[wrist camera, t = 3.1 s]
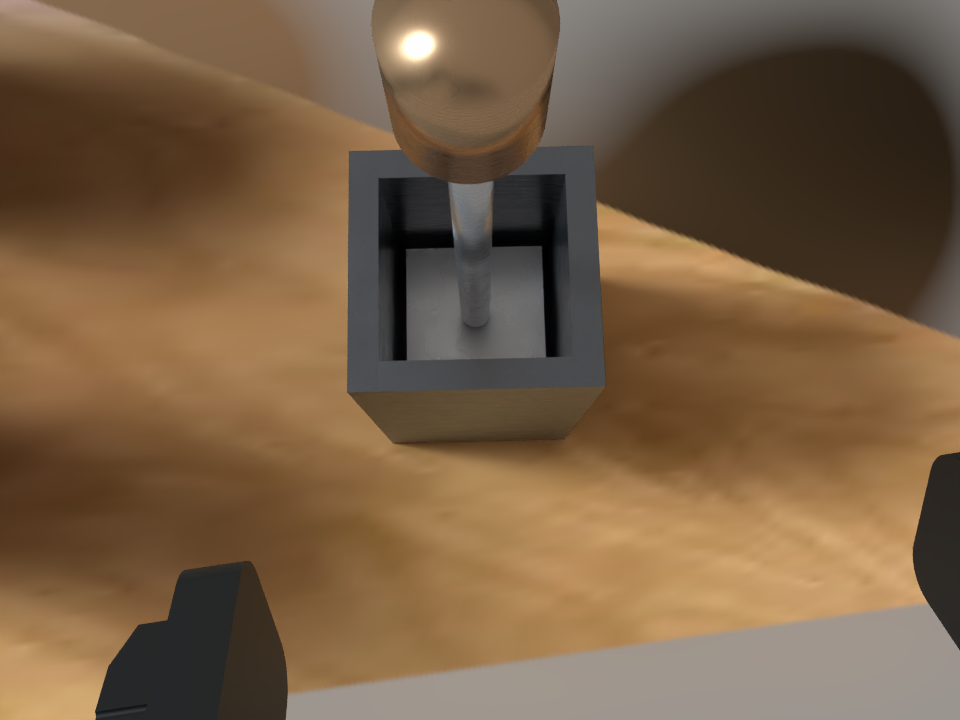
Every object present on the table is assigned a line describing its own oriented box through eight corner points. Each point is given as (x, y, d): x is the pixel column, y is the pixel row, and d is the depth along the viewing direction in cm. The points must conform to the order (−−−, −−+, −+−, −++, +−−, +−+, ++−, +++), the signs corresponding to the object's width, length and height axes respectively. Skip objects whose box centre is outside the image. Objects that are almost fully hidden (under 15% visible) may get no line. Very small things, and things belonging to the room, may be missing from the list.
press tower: (393, 443, 52) (347, 392, 35) (392, 278, 54) (349, 151, 37) (564, 439, 52) (605, 386, 35) (557, 275, 54) (593, 145, 37)
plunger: (408, 385, 43) (306, 170, 18) (408, 255, 45) (312, -112, 20) (545, 382, 43) (630, 163, 18) (540, 252, 45) (613, -118, 20)
